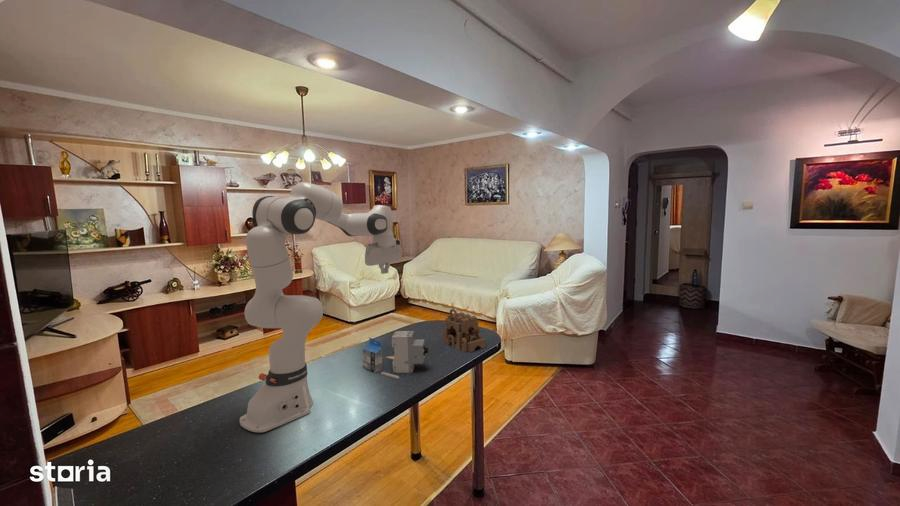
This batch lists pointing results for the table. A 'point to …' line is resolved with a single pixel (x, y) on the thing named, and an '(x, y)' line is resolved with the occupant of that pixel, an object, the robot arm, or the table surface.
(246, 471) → the table surface
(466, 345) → the wooden puzzle
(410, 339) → the circuit breaker
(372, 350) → the label tape box
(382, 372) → the peg
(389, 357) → the cork pad
